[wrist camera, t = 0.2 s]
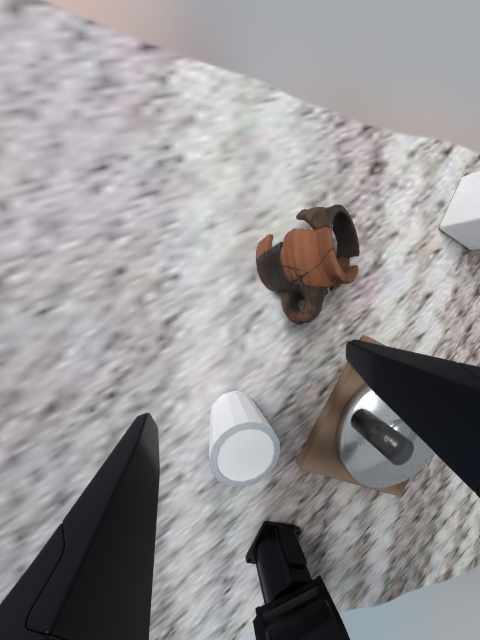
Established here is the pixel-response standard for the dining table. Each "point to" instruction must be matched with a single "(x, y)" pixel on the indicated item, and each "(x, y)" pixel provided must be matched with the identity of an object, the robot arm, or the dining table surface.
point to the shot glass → (240, 441)
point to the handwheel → (378, 442)
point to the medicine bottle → (464, 213)
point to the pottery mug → (310, 261)
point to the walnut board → (322, 440)
